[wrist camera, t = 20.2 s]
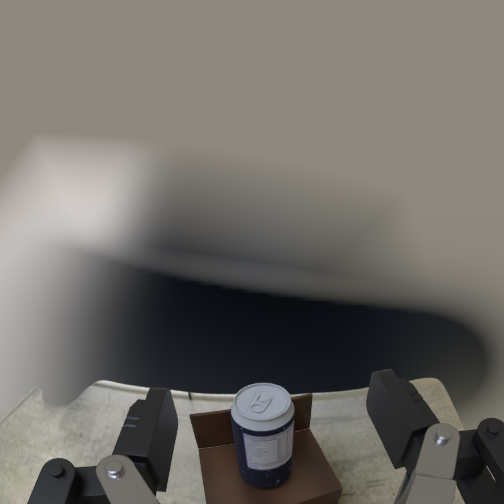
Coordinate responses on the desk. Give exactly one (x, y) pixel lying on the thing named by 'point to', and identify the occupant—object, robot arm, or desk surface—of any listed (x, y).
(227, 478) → the wooden stair steps
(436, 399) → the desk surface
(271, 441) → the beverage can
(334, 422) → the desk surface
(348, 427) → the desk surface
